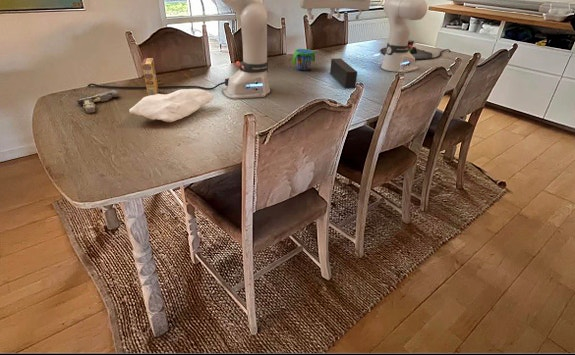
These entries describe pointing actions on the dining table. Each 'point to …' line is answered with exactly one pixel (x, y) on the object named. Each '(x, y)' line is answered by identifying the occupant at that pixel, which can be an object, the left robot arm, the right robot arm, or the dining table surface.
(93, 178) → the dining table surface
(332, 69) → the bar
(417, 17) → the right robot arm
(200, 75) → the dining table surface
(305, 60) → the snack cup
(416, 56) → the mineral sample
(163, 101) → the crumpled cloth
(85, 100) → the handgun
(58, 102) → the dining table surface
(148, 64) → the candy box
